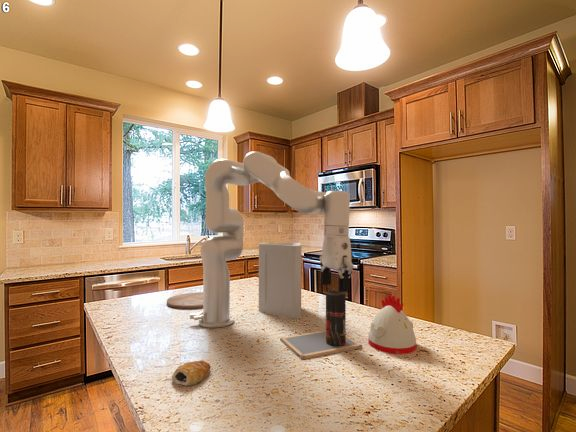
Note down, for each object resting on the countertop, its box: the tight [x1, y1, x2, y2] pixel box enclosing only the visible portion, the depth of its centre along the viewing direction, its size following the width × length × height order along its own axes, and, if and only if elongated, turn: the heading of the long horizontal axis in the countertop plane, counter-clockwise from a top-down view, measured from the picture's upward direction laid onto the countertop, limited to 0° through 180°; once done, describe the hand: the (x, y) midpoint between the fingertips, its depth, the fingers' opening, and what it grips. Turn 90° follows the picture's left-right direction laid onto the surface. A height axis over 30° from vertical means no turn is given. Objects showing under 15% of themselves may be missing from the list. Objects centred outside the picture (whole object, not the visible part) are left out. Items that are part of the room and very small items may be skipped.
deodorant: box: [325, 290, 347, 346], centre depth 97 cm, size 6×6×15 cm
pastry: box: [171, 360, 211, 387], centre depth 77 cm, size 9×7×4 cm
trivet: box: [166, 291, 203, 310], centre depth 148 cm, size 25×25×2 cm
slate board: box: [280, 330, 363, 360], centre depth 98 cm, size 20×15×1 cm
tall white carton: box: [258, 242, 302, 320], centre depth 134 cm, size 19×15×28 cm
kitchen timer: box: [368, 294, 417, 355], centre depth 98 cm, size 14×14×15 cm
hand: (334, 287), depth 97 cm, fingers open, 9 cm apart
